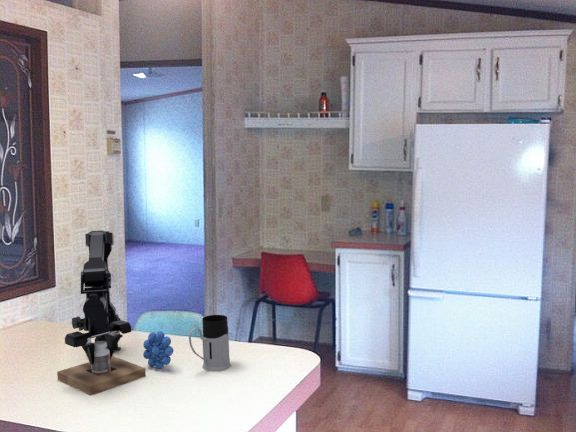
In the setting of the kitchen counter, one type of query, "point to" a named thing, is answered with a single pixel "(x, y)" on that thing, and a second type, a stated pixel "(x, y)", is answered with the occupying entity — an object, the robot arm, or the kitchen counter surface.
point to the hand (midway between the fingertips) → (100, 361)
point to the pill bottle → (101, 358)
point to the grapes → (158, 350)
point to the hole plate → (101, 376)
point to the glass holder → (214, 343)
